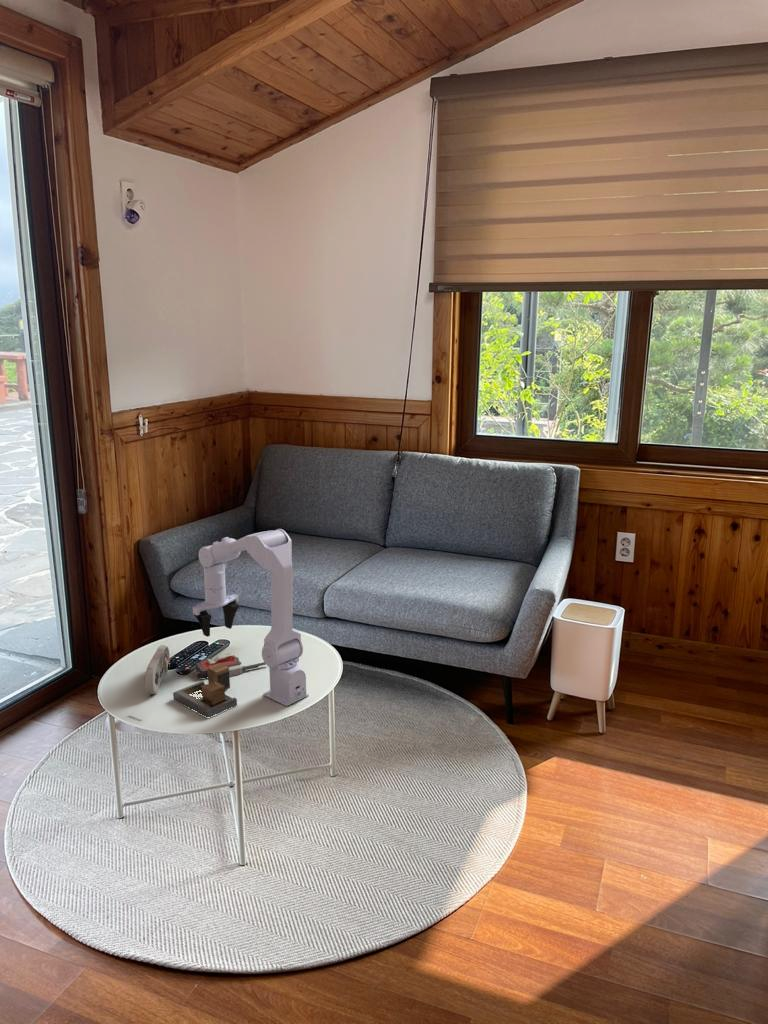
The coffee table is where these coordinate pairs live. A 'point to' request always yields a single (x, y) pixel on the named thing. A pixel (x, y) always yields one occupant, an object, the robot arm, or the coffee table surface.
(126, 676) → the coffee table surface
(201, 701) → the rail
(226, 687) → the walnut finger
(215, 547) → the robot arm
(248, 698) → the coffee table surface
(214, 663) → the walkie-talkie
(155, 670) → the game controller
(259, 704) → the coffee table surface
